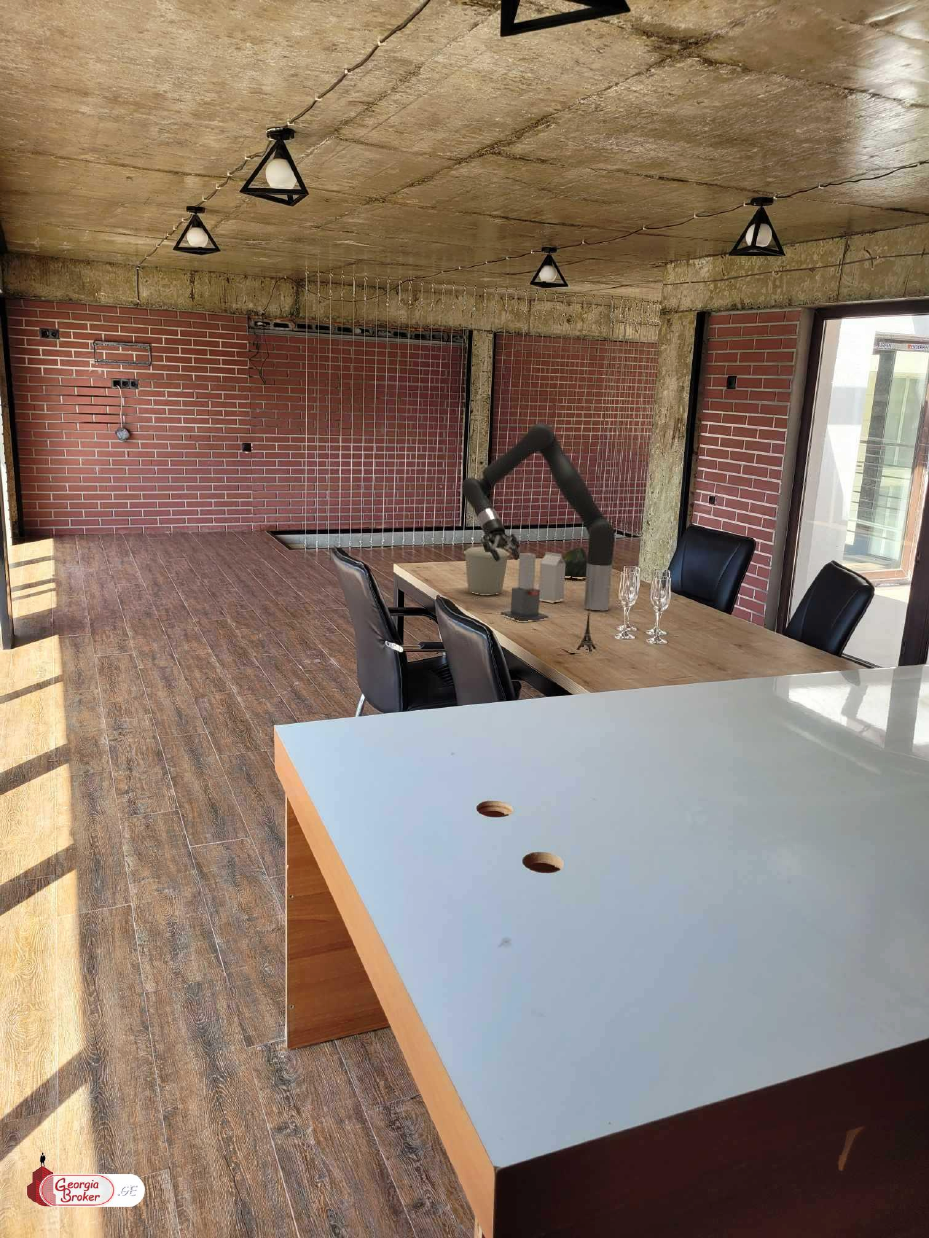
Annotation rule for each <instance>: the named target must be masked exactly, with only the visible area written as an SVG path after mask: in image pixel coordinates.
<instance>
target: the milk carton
mask: <svg viewBox="0 0 929 1238" xmlns="http://www.w3.org/2000/svg"><path fill="white" fill-rule="evenodd" d="M562 555H563V554H562V553H558V552H557V553H556V552H549V551H545V555H544V556H543V558H542V560H541V561H540V565H539V566H540V567H539V578H538V579H539V581H538V590H540V595H539V599H543V600H551V601H556V600H560V599H563V600H564V596H565V595H564V594H565V582H566V581H565V580H566V579H565V565H566V563H565V562H564V560H563V558H562Z"/></svg>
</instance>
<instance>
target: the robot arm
mask: <svg viewBox="0 0 929 1238" xmlns="http://www.w3.org/2000/svg"><path fill="white" fill-rule="evenodd" d="M558 440H559V439H558V438H557V436H556V434H555V432H554V430H553V428H552V427H551V426H550V425H549V424H547V423H545V422H538V423H535V424H534V425H532V426H531V427H530V428H529V429H528V431H527V432H526V433H525V435H524V436H523V437H522V438H521V439H520V440H519V441H518V442H517V443H516V444H515V445H514V446H513V447H512V448H510V449H509V450H507V451H506V452H505V453H503V454H501V455H500V456H499V457H497V458H496V459H495V460H493V461H492V462H491V463H490V464H489V465H488V466H486V467H485V468H484V469H483V471H482V476H483V477H482V478H481V479H480V480H479V479H476V478H474V477H467V478H465V479H464V480H463V482H462V485H461V491H462V493H463V495H464V497H465V498H466V500H467V502H468V503H469V505H470V506H471V507H472V509H473V511H474V513H475V515H476V517H477V520H478V523H479V525H480V528H481V529H482V532H483V534H484V535H483V536H482V537H481V539H480V542H481V544H482V547H484V550H485V552H490V553H491V554H492V556H493V558H494V560H496V561H499V560H500V556H499V554H498V552H497V550H495V549H496V548H504V549H506V550H508V551H510V552H511V555H512V557H513V559H514V561H519V557H520V553H519V551H518V550H519V548H520V547H521V545H520V543H519V541H518V539H517V537H516V536H515V534H513V533H511V534H510V535H507V534H506V530H505V529H506V528H505V527H504V524H503V522H502V520H501V518H500V516H499V514H498V513H497V512H496V509H495V508H494V507H495V506H494V505H493V504H492V501H491V500H490V499H489V498H488V497H487V496H488V495H489V494H490V492H491V491H493V489H494V488H495V486H496V485H497V484H498V483H499V482H500V481H502V480H503V479H505V478H506V477H507V476H508V475H509V474H510V473H511V472H512V471H514V469H516V468H517V467H518V466H519V465H520V464H522V463H523V462H524V461H525V460H526V459H528V458H529V457H531V456H532V455H534V454H536V453H538V452H539V453H540V455H541V456H542V457H543V459H544V460H545V462H546V464H547V466H548V468H549V472H550V473H551V475H552V478H553V480H554V482H555V485H556V486H557V488H558V490H559V491H560V493H561V494H562V496H563V498H564V499H565V500H566V502H567V503H568V504H569V505H570V506H571V508H572V509H573V511H575V512H576V513H577V515H578V517H579V518H580V520H581V521H582V523H583V524H584V527H585V530H586V532H587V533H588V546H587V547H588V550H587V555H588V556H587V571H586V578H585V586H584V587H585V591H584V601H583V608H584V607H585V608H589V609H592V610H608V609H609V610H610V600H611V585H612V584H611V581H612V568H613V567H612V566H613V560H614V559H613V558H614V549H615V536H616V535H615V529H614V527H613V525H612V523H610V522H609V520H608V519H607V518H606V516H604V514H603V513H602V512H601V511H600V509H599V507H598V506H597V504H596V503H595V500H594V498H593V496H592V494H591V491H590V490H589V488H588V486H587V483H586V482H585V480H584V479H583V477H582V475H581V474H580V473H579V470H577V468H576V467H575V465H574V464H573V462H572V461H571V460H570V458H569V457H568V456H567V454H566V453H565V451H564V450H563V448H562V446H561V445H560V442H559V441H558ZM489 542H490V543H491V546H490V544H489ZM585 608H584V609H585ZM609 610H608V611H609Z"/></svg>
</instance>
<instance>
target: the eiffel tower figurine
mask: <svg viewBox="0 0 929 1238" xmlns="http://www.w3.org/2000/svg"><path fill="white" fill-rule="evenodd" d="M590 614H591V613H590V611H588V613H587V620H586V625H585V631H584V635H583V638H582V640H581V641H580V643H579V646H578V648H577V649H576V650H580V648H581V647H584V645H586V646H587V647H588V649H589V652H592V649H591V648H592V647H593V649H595V650H596V647H595V646H594V645H595V644H594V642H593V640H592V637H591V632H590V616H591V615H590ZM572 646H573V647H574V646H575V645H572ZM591 646H592V647H591ZM588 649H586V650H588ZM567 653H568V654H570V653H569V652H567Z"/></svg>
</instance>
